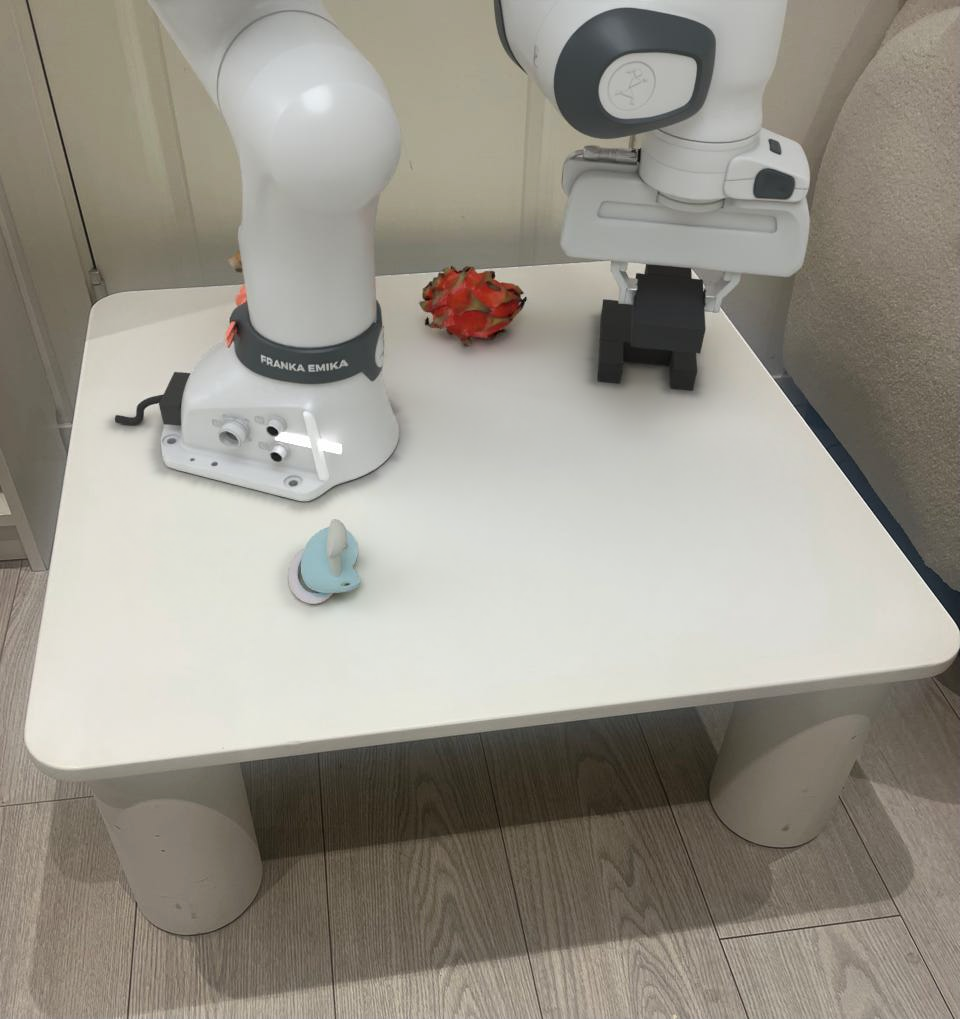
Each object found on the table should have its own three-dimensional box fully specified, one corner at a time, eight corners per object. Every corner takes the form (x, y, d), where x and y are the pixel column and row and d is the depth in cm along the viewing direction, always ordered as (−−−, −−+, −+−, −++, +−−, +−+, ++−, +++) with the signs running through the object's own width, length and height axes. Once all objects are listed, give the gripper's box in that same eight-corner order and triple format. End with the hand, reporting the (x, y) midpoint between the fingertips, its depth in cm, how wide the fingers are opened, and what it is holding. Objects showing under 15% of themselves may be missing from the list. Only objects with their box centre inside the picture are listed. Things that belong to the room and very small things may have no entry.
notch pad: (693, 390, 106) (697, 371, 104) (597, 381, 106) (599, 362, 104) (689, 325, 114) (693, 307, 112) (600, 317, 115) (603, 298, 113)
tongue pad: (700, 354, 87) (705, 329, 85) (630, 346, 87) (634, 322, 86) (697, 282, 95) (701, 258, 93) (633, 275, 96) (636, 252, 94)
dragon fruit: (410, 344, 112) (513, 348, 115) (425, 342, 104) (536, 346, 107) (412, 266, 111) (516, 272, 114) (428, 257, 103) (540, 264, 106)
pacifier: (289, 615, 82) (363, 606, 83) (278, 563, 78) (356, 555, 79) (288, 550, 88) (358, 542, 88) (278, 498, 83) (351, 490, 84)
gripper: (562, 161, 78) (548, 313, 88) (831, 184, 77) (787, 336, 86) (567, 126, 83) (553, 275, 92) (822, 147, 81) (781, 296, 91)
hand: (668, 304), depth 89 cm, fingers closed on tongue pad, 6 cm apart
